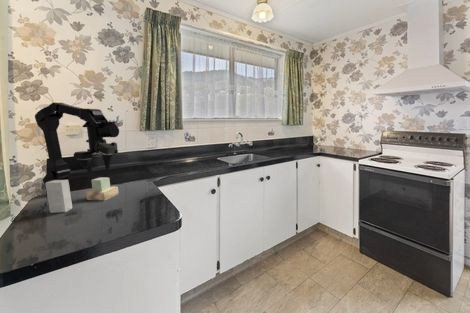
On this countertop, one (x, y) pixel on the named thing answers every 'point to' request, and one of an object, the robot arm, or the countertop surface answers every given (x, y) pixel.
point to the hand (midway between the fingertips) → (99, 171)
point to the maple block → (102, 194)
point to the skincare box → (58, 196)
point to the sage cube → (100, 184)
